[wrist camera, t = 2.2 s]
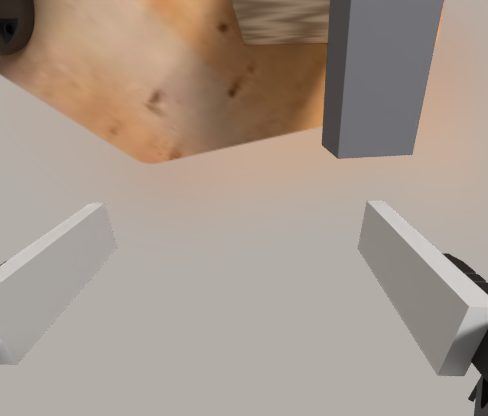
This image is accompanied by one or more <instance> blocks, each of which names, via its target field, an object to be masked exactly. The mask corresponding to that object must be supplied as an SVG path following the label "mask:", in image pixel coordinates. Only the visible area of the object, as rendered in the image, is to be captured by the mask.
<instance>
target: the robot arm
mask: <svg viewBox="0 0 488 416" xmlns="http://www.w3.org/2000/svg"><path fill="white" fill-rule="evenodd" d="M33 24H34V8H33V2H32V0H0V55H8V54H12V53H15V52H17V51H18V50H20V49H21V48H22V47H23V46H24V45H25V44H26V43H27V41H28V40H29V38H30V36H31V33H32V29H33ZM116 249H117V245H116V241H115V238H114V235H113V231H112V227H111V224H110V220H109V217H108V213H107V210H106V207H105V203H90V204H88V205H87V206H85V207H84V208H82V209H81V210H79V211H78V212H77V213H75V214H74V215H72V216H71V217H70V218H68V219H67V220H65V221H64V222H62V223H61V224H60V225H58V226H57V227H55V228H54V229H52V230H51V231H49V232H48V233H47V234H45V235H44V236H42V237H41V238H39V239H38V240H37V241H35V242H34V243H32V244H31V245H29V246H28V247H27V248H25V249H24V250H22V251H21V252H20V253H18V254H17V255H16V256H14V257H12V258H11V259H9V260H8V261H6V262H4V263H3V264H1V265H0V364H9V365H17V364H18V363H19V362H20V361H21V360H22V358H23V357H24V356H25V355H26V354H27V353H28V352H29V350H30V349H31V348H32V347H33V346H34V344H35V343H36V342H37V341H38V340H39V339H40V338H41V336H42V335H43V334H44V333H45V332H46V331H47V329H48V328H49V327H50V326H51V325H52V324H53V322H54V321H55V320H56V319H57V318H58V317H59V316H60V314H61V313H62V312H63V311H64V310H65V308H66V307H67V306H68V305H69V304H70V303H71V301H72V300H73V299H74V298H75V297H76V296H77V295H78V293H79V292H80V291H81V290H82V289H83V288H84V286H85V285H86V284H87V283H88V282H89V281H90V279H91V278H92V277H93V276H94V275H95V274H96V273H97V271H98V270H99V269H100V268H101V267H102V265H103V264H104V263H105V262H106V261H107V259H108V258H109V257H110V256H111V255H112V254H113V253H114V252H115V250H116ZM358 250H359V251H360V253H361V254H362V256H363V258H364V259H365V261H366V262H367V264H368V265H369V267H370V269H371V270H372V272H373V273H374V275H375V277H376V278H377V280H378V282H379V283H380V285H381V286H382V288H383V289H384V291H385V293H386V294H387V296H388V297H389V299H390V301H391V302H392V304H393V305H394V307H395V309H396V310H397V312H398V313H399V315H400V317H401V318H402V320H403V321H404V323H405V325H406V326H407V328H408V329H409V331H410V333H411V334H412V335H413V337H414V339H415V341H416V342H417V344H418V345H419V347H420V349H421V350H422V352H423V353H424V355H425V357H426V358H427V360H428V361H429V363H430V365H431V366H432V368H433V369H434V370H435V372H436V374H437V375H441V376H464V375H465V374H466V372H467V370H468V368H469V366H470V364H471V362H472V363H473V364H474V366H475V367H476V368H477V370H478V371H479V372H480V374H481V375H482V376H481V377H480V379H479V381H478V383H477V385H476V386H475V388H474V390H473V391H472V393H471V395H470V396H469V398H468V399H469V400H470V401H472V402H473V401H474V399H475V398H476V402H475V411H474V416H488V283H486V281H485V280H484V279H483V278H482V277H481V276H480V275H478V274H476V273H475V271H474V270H473V269H471V268H470V267H469V266H468V265H466V264H465V263H464V262H463V261H461V260H459V259H457V258H455V257H453V256H451V255H450V254H442V253H441V252H440V251H438V250H437V249H436V248H435V247H434V246H433V245H432V244H431V243H429V242H428V241H427V240H426V239H425V238H424V237H423V236H422V235H421V234H420V233H418V232H417V231H416V230H415V229H414V228H413V227H412V226H411V225H409V224H408V223H407V222H406V221H405V220H404V219H403V218H402V217H400V215H398V214H397V213H396V212H395V211H394V210H393V209H392V208H391V207H389V206H388V205H387V204H386V203H385V202H384V201H367V203H366V208H365V213H364V219H363V224H362V229H361V234H360V239H359V245H358Z"/></svg>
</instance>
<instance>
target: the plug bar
mask: <svg viewBox="0 0 488 416" xmlns="http://www.w3.org/2000/svg"><path fill="white" fill-rule="evenodd" d="M443 2H444V0H330V8H329V26H328V44H327V61H326V79H325V97H324V114H323V133H322V145H323V146H324V147H325V148H326V149H327V150H328V151H329V152H331V153H332V154H333V155H334V156H335V157H336V158H338V159H341V158H359V157H377V156H396V155H412V154H413V148H414V143H415V139H416V134H417V129H418V124H419V119H420V114H421V109H422V105H423V99H424V95H425V90H426V85H427V80H428V75H429V70H430V65H431V60H432V56H433V51H434V46H435V41H436V36H437V31H438V26H439V21H440V16H441V11H442V7H443Z"/></svg>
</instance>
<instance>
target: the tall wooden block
mask: <svg viewBox="0 0 488 416" xmlns="http://www.w3.org/2000/svg"><path fill="white" fill-rule="evenodd" d="M231 2H232V5H233V8H234V12H235V15H236V18H237V22H238V25H239V28H240V32H241V35H242V38H243V42H244V45H261V44H299V43H328V26H329V8H330V0H231Z"/></svg>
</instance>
